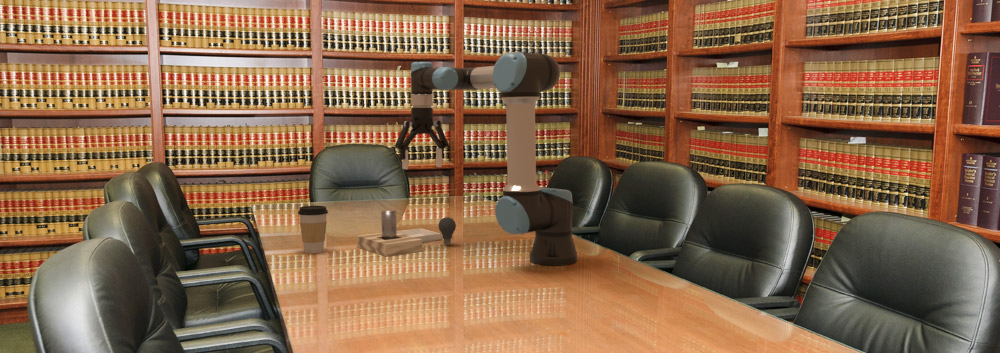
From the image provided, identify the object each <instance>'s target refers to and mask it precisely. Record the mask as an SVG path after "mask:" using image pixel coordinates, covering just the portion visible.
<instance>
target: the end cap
mask: <svg viewBox="0 0 1000 353" xmlns="http://www.w3.org/2000/svg"><path fill="white" fill-rule="evenodd" d="M380 214H381V233H382V239H383V240H390V239H397V231H398V230H397V211H396V209H383V210H382V211H381V213H380Z"/></svg>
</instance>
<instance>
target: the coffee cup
mask: <svg viewBox="0 0 1000 353" xmlns="http://www.w3.org/2000/svg"><path fill="white" fill-rule="evenodd" d="M328 213H329V210H328V209H327V206H325V205H304V206H300V207H299V210H298V212H297V214H298V216H299V226H300V233H301V239H302V243H303V244H302V245H303V249H304V251H303V252H304V253H305V254H320V253H323V252H324V250H325V249H324V248H325V240H326V232H327V216H328V215H327V214H328Z"/></svg>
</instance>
